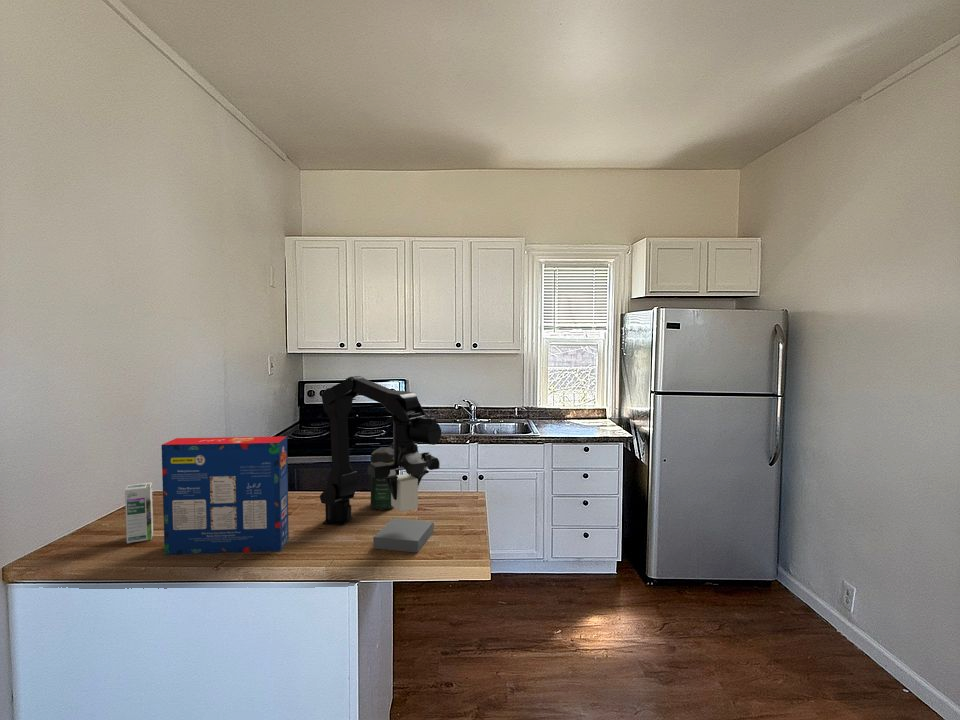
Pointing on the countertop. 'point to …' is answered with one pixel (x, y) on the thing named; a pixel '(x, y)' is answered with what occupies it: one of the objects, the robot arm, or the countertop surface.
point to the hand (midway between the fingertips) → (404, 497)
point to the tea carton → (406, 493)
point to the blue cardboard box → (225, 495)
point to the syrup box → (139, 512)
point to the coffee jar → (381, 480)
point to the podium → (404, 535)
